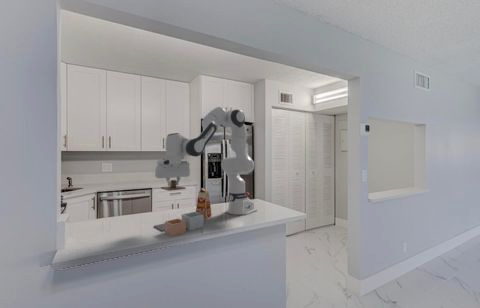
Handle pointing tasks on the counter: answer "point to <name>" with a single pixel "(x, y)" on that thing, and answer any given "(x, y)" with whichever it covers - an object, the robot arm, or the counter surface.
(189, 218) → the blue-grey open box
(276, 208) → the counter surface
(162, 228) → the mat
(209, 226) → the counter surface
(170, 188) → the lid
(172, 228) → the orange open box
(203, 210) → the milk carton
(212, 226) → the counter surface
